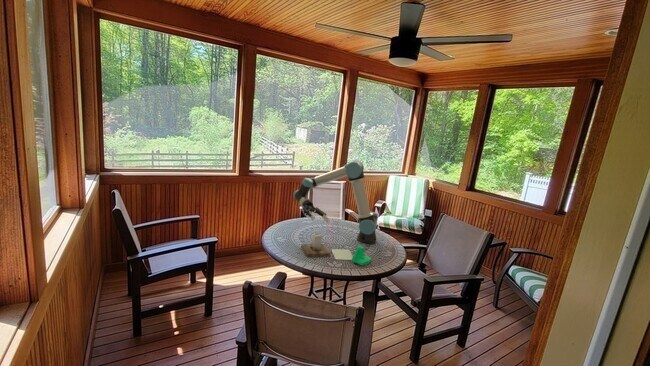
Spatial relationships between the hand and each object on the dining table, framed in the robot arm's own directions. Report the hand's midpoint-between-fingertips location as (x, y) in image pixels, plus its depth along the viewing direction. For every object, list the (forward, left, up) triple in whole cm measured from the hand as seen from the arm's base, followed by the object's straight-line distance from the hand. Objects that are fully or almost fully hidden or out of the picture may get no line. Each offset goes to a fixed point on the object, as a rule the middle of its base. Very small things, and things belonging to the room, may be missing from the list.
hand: (321, 219), depth 210 cm
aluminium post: (+3, +8, -20) cm, 22 cm away
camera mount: (-26, +21, -20) cm, 40 cm away
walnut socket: (+3, +8, -20) cm, 22 cm away
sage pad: (-15, +12, -20) cm, 28 cm away
